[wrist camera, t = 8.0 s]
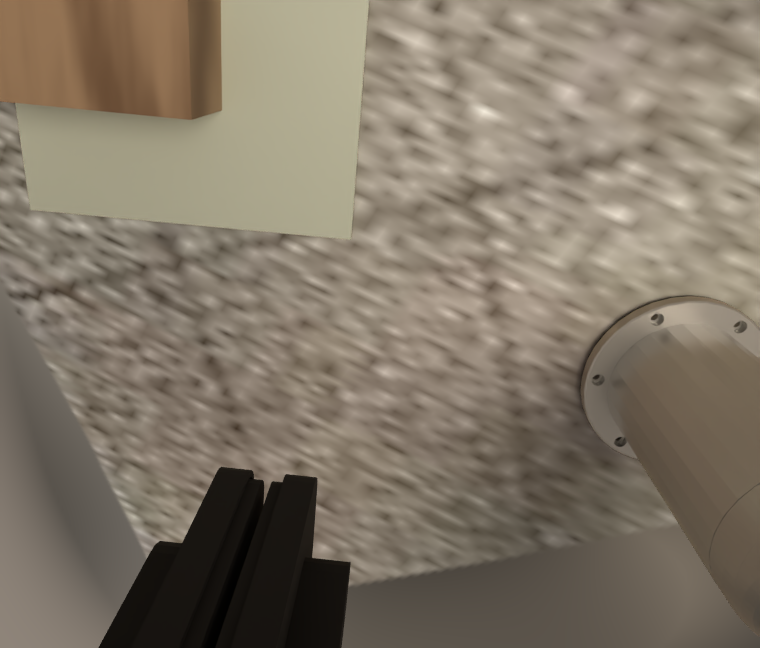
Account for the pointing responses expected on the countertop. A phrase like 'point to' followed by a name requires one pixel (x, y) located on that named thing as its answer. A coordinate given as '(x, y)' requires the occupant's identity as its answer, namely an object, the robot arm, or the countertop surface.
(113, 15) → the copper block
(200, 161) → the mat
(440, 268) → the countertop surface
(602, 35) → the countertop surface
